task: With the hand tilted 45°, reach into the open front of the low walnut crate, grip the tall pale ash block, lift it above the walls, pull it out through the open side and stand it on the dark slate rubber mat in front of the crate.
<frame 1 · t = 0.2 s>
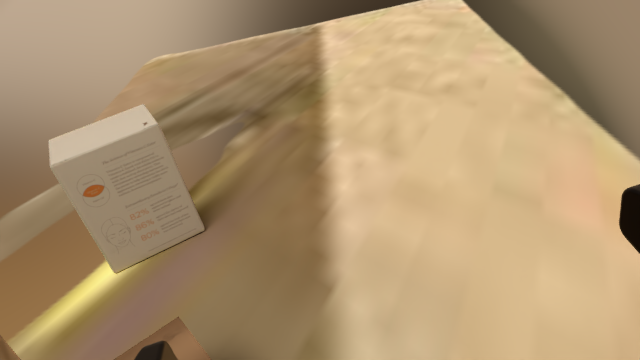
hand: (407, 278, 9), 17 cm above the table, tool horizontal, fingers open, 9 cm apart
small box: (155, 238, 42), on the table
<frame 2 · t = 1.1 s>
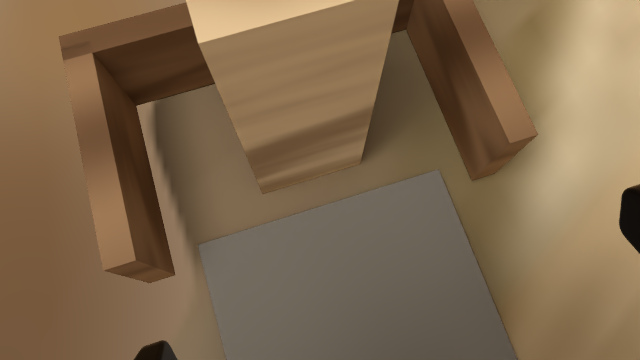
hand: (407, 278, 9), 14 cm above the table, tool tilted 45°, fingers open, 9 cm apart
ash block: (288, 67, 18), in the walnut crate
walnut crate: (296, 133, 25), on the table
slate mat: (358, 321, 22), on the table
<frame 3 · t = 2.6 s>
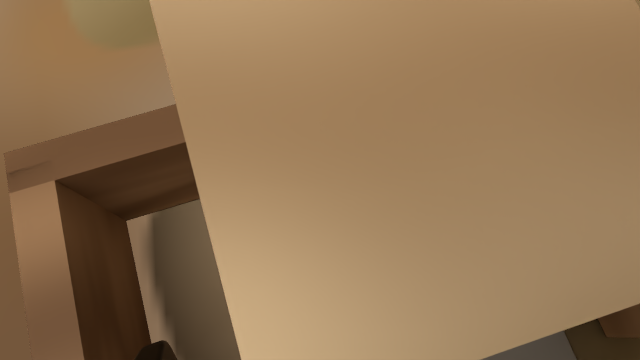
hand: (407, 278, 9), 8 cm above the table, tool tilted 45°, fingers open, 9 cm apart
ash block: (370, 225, 11), in the walnut crate
walnut crate: (352, 263, 17), on the table
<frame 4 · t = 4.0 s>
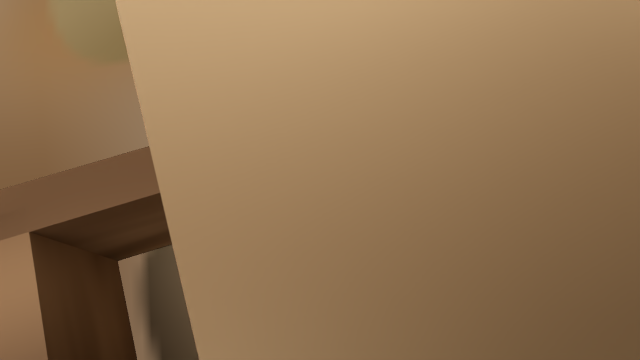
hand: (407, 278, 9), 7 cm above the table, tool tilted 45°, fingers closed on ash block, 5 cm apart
ash block: (412, 298, 9), in the walnut crate, touching gripper
walnut crate: (374, 310, 15), on the table
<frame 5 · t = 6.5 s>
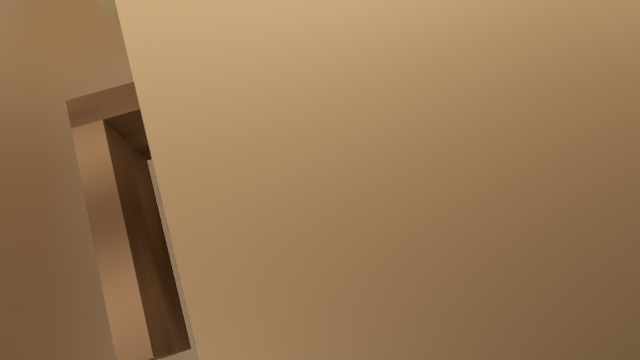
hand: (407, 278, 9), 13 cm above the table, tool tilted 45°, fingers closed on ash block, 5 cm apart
ash block: (412, 296, 9), point 13 cm above the table, touching gripper
walnut crate: (318, 191, 23), on the table
when the fingers open (8 cm above the table, at t = 9.0 s): ash block drops 1 cm, resting on slate mat.
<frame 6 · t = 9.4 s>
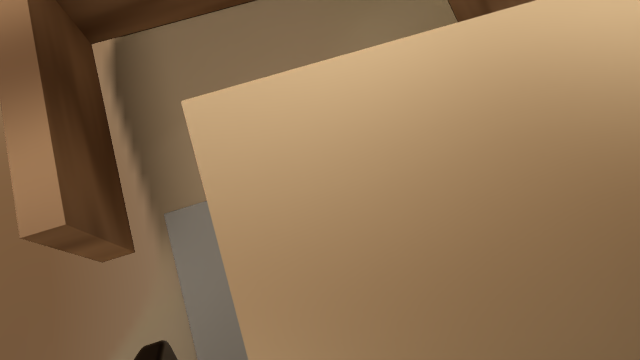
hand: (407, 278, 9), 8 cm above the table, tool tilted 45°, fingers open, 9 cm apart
ash block: (403, 303, 10), resting on slate mat
walnut crate: (291, 78, 20), on the table
slate mat: (369, 311, 17), on the table
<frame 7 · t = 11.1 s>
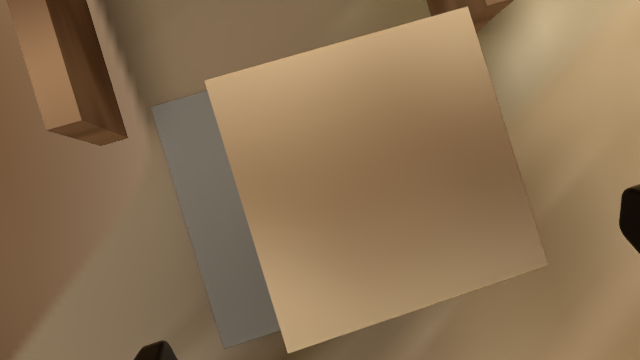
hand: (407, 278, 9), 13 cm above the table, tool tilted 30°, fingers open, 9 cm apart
ash block: (337, 184, 15), resting on slate mat
slate mat: (318, 187, 22), on the table
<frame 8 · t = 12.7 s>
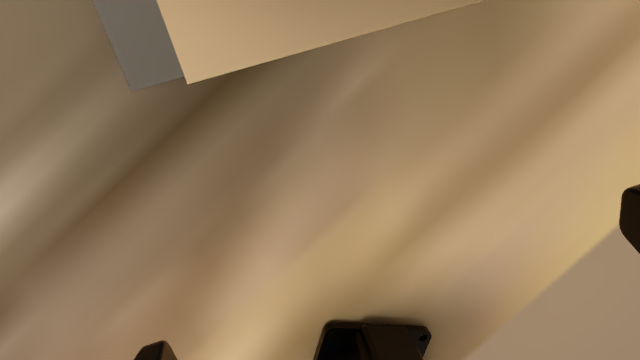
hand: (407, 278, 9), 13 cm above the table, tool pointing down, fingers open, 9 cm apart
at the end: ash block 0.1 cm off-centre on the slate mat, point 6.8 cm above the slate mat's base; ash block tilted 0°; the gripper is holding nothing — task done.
